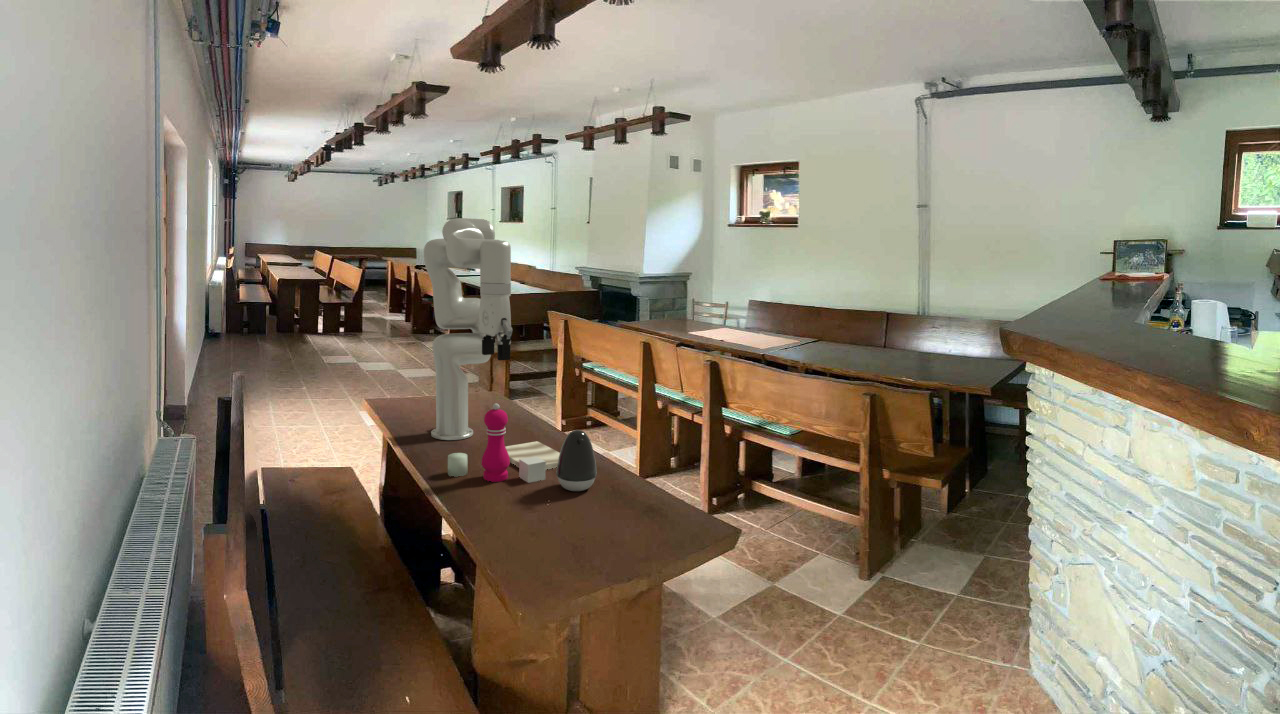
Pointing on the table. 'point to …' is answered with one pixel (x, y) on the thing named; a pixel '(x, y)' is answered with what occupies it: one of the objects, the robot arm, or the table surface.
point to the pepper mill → (495, 446)
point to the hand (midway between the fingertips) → (495, 357)
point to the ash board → (533, 453)
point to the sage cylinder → (457, 464)
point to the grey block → (532, 469)
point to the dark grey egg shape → (576, 462)
